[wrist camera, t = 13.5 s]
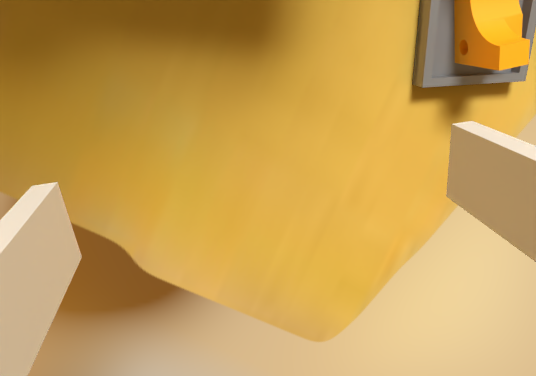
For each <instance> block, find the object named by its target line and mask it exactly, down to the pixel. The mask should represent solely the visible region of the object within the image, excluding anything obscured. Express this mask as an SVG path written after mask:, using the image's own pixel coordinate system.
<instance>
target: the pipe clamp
mask: <svg viewBox="0 0 536 376" xmlns="http://www.w3.org/2000/svg"><path fill="white" fill-rule="evenodd" d="M522 20H523V14H522V11H521V8H520V5H519V0H454V32H455V63H458V64H464V65H470V66H476V67H481V68H487V69H493V70H498V71H500V70H504V69H509V68H513V67H518V66H523V65H527V64H529V48H530V40H529V39H524V38H522Z"/></svg>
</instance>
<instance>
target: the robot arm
mask: <svg viewBox="0 0 536 376" xmlns="http://www.w3.org/2000/svg"><path fill="white" fill-rule="evenodd" d="M446 196H447V197H448V198H449V199H451V200H452V201H453V202H455V203H456V204H457V205H459V206H460V207H462V208H463V209H464V210H466V211H467V212H468V213H470V214H471V215H473V216H474V217H475V218H477V219H478V220H480V221H481V222H482V223H483V224H485V225H486V226H488V227H489V228H490V229H492V230H493V231H494V232H496V233H497V234H498V235H500V236H501V237H502V238H504V239H505V240H507V241H508V242H509V243H511V244H512V245H513V246H515V247H516V248H517V249H519V250H520V251H522V252H523V253H525V254H526V255H527V256H529V257H530V258H531V259H533V260H534V261H535V262H536V146H535V145H532V144H530V143H527V142H524V141H522V140H519V139H517V138H514V137H512V136H509V135H507V134H504V133H502V132H499V131H496V130H494V129H491V128H489V127H486V126H484V125H481V124H479V123H476V122H474V121H469V122H462V123H456V124H452V127H451V141H450V155H449V168H448V182H447V195H446ZM81 257H82V256H81V253H80V250H79V247H78V244H77V241H76V238H75V234H74V232H73V229H72V225H71V222H70V219H69V216H68V213H67V210H66V207H65V203H64V200H63V197H62V194H61V191H60V188H59V185H58V182H55V183H48V184H41V185H34V186H31V187H30V189H29V190H28V191H27V192H26V193H25V194H24V195H23V196H22V197H21V198H20V199H19V200H18V201H17V203H16V204H15V205H14V206H13V207H12V208H11V209H10V210H9V211H8V212H7V213H6V214H5V216H4V217H3V218H2V219H1V220H0V376H28V374H29V372H30V369H31V367H32V365H33V363H34V361H35V359H36V356H37V354H38V352H39V350H40V347H41V345H42V343H43V341H44V339H45V337H46V334H47V332H48V330H49V328H50V326H51V323H52V321H53V319H54V317H55V315H56V313H57V310H58V308H59V306H60V303H61V302H62V299H63V297H64V295H65V293H66V291H67V288H68V286H69V284H70V282H71V280H72V277H73V275H74V273H75V271H76V269H77V266H78V264H79V262H80V260H81Z"/></svg>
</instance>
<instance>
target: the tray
mask: <svg viewBox="0 0 536 376" xmlns="http://www.w3.org/2000/svg"><path fill="white" fill-rule="evenodd" d="M519 5H520V8H521V11H522V14H523V20H522V38H524V39H529V40H530V48H529V59H530V54H531V49H532V43H533V38H534V33H535V28H536V0H519ZM527 70H528V64H527V65H523V66H518V67H513V68H509V69H504V70H500V71H498V70H493V69H487V68H481V67H476V66H470V65H464V64H458V63H455V32H454V0H420V7H419V18H418V29H417V40H416V50H415V61H414V72H413V83H412V85H416V86H419V87H422V88H425V87H440V86H456V85H471V84H487V83H502V82H518V81H525V80H526V75H527Z"/></svg>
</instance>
